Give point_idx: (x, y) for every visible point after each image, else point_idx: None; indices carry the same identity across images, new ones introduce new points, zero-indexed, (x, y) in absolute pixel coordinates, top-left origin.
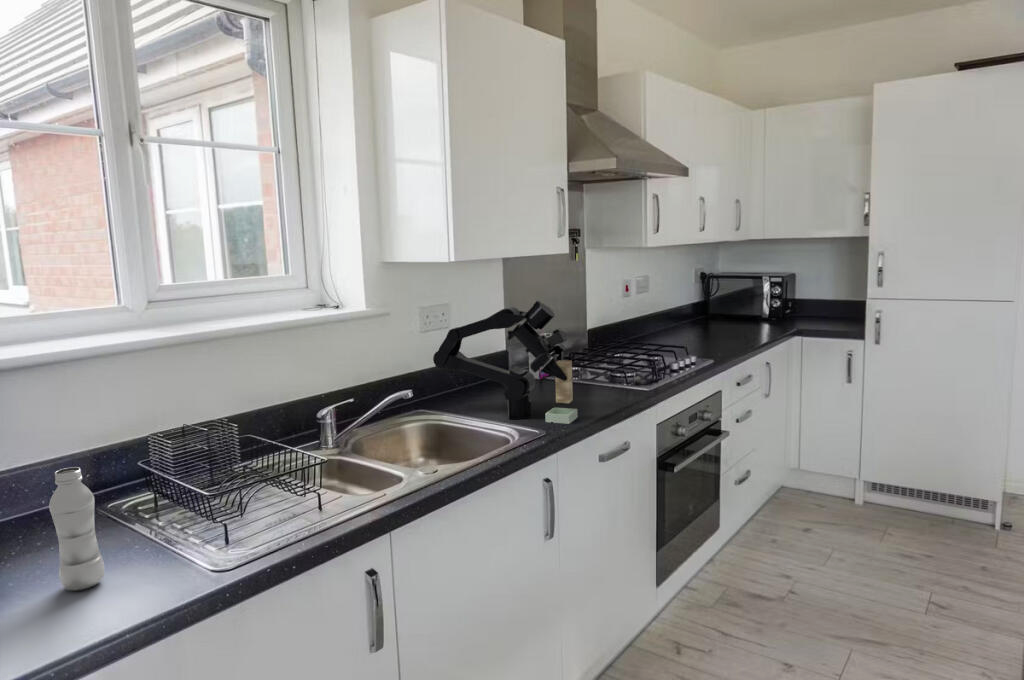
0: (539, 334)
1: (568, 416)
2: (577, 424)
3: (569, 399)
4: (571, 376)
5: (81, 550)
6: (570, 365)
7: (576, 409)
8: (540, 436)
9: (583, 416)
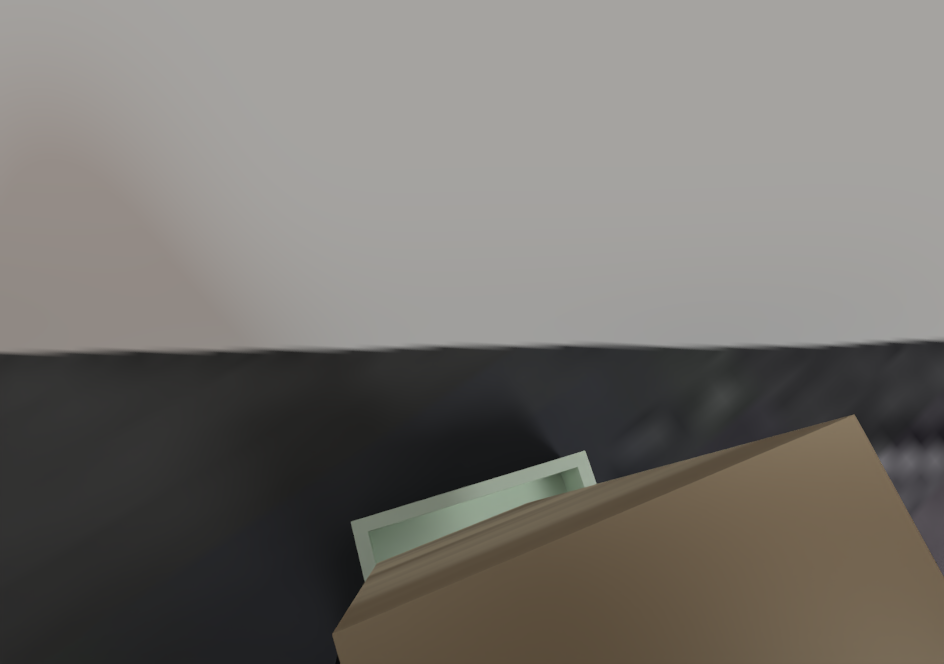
0: None
1: (583, 458)
2: (538, 395)
3: (514, 509)
4: (415, 563)
5: None
6: (534, 533)
7: (375, 514)
8: (927, 446)
9: (297, 497)
